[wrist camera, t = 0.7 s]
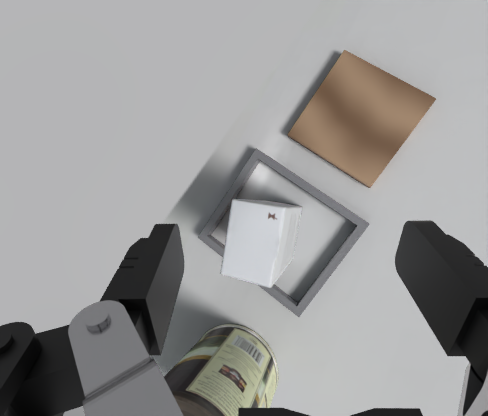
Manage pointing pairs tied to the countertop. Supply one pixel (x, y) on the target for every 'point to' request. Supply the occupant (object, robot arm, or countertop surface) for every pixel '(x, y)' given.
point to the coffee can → (224, 373)
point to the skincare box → (260, 240)
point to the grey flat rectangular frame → (360, 223)
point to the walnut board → (360, 118)
